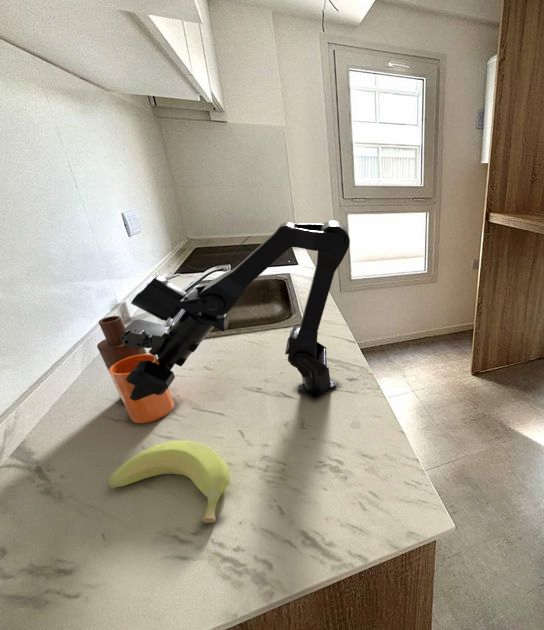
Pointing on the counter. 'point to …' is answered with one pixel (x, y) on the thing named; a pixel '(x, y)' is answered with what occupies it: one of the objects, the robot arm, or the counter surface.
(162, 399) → the orange plastic tumbler
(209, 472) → the banana
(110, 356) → the sauce bottle
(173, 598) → the counter surface
